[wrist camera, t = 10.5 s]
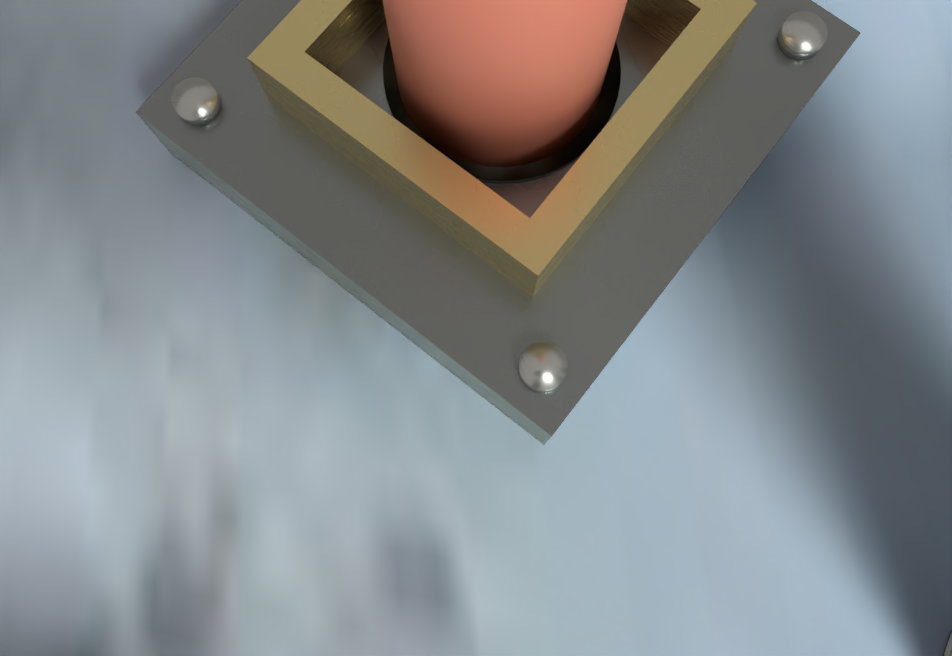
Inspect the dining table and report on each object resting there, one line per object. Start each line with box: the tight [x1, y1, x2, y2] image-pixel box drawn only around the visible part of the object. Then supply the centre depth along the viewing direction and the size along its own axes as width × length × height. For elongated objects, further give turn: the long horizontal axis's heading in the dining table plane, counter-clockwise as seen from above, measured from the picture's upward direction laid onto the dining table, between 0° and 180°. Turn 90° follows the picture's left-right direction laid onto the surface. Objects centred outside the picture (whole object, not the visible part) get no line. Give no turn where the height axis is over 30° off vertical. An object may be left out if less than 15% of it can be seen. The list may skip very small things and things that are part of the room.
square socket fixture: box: [136, 0, 860, 444], centre depth 23 cm, size 14×14×4 cm
